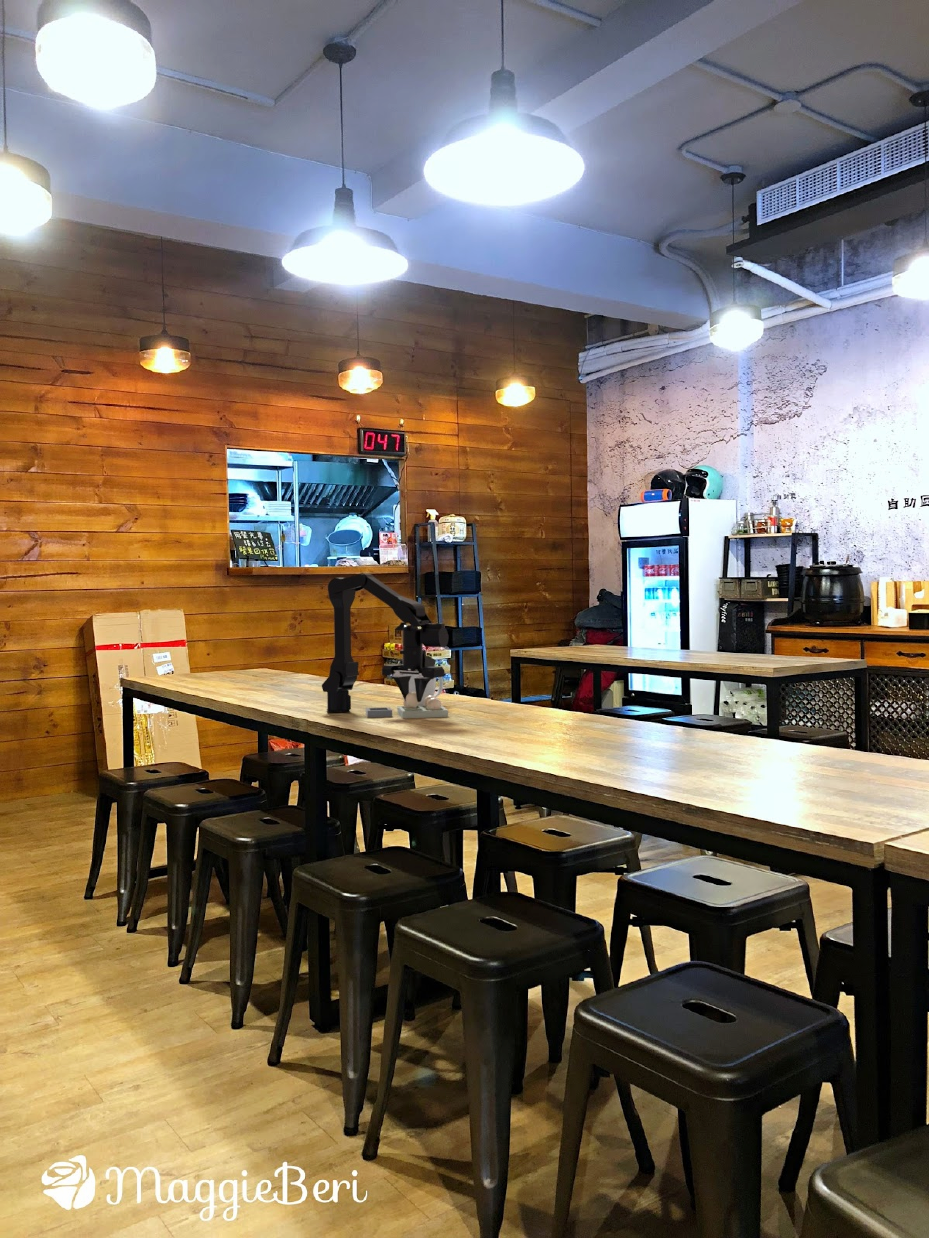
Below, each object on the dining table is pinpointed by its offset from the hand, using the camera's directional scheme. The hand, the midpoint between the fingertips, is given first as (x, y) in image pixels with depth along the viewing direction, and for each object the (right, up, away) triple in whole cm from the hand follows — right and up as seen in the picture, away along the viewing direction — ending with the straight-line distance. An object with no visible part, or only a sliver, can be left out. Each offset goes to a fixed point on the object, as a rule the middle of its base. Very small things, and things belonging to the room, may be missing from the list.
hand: (413, 701), depth 271 cm
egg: (0, +1, 0) cm, 1 cm away
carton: (+2, -4, +4) cm, 6 cm away
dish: (-10, -4, +2) cm, 11 cm away
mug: (+1, -4, +24) cm, 24 cm away
